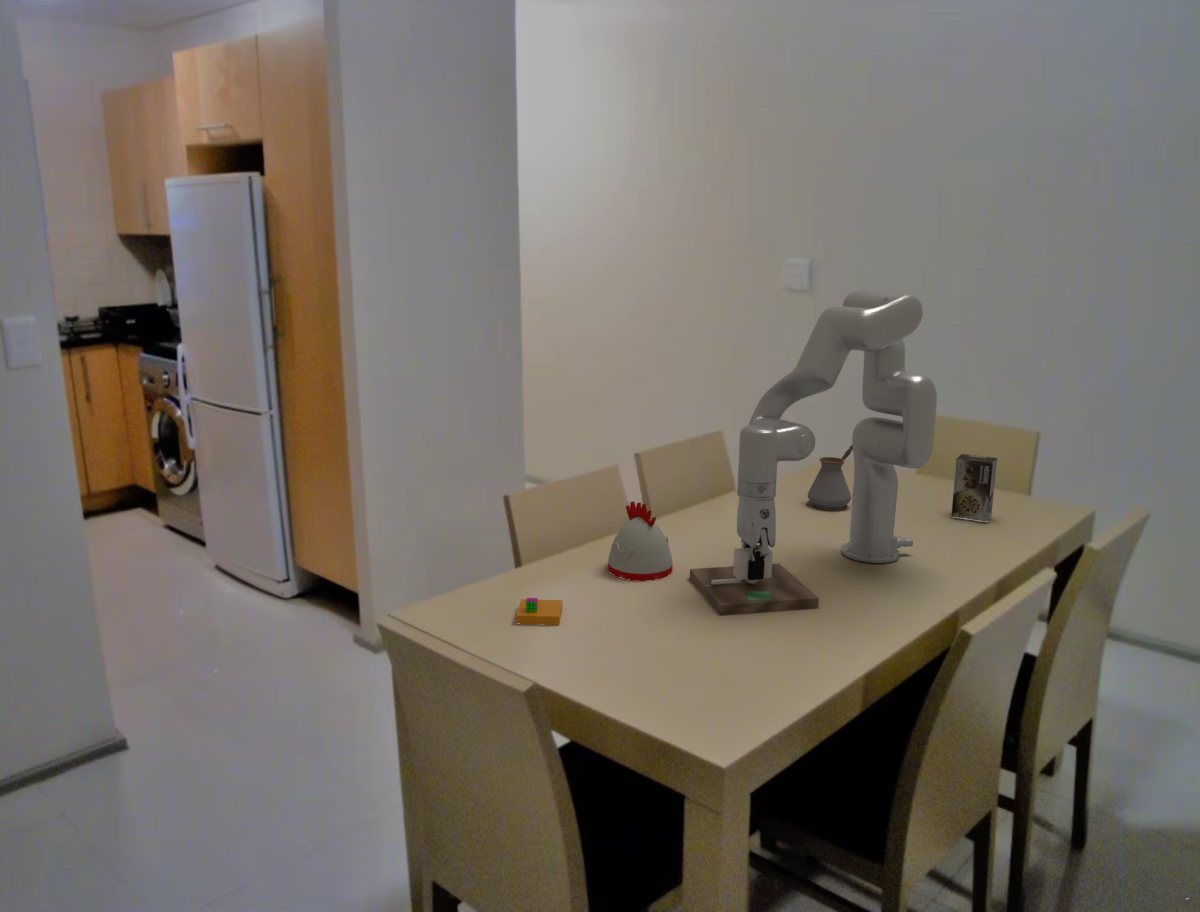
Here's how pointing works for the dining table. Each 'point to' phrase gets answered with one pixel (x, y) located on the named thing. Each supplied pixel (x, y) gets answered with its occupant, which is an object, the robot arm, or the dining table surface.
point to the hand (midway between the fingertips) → (752, 575)
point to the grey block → (746, 567)
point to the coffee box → (974, 487)
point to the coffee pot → (830, 484)
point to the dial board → (753, 591)
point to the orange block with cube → (539, 611)
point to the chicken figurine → (640, 548)
